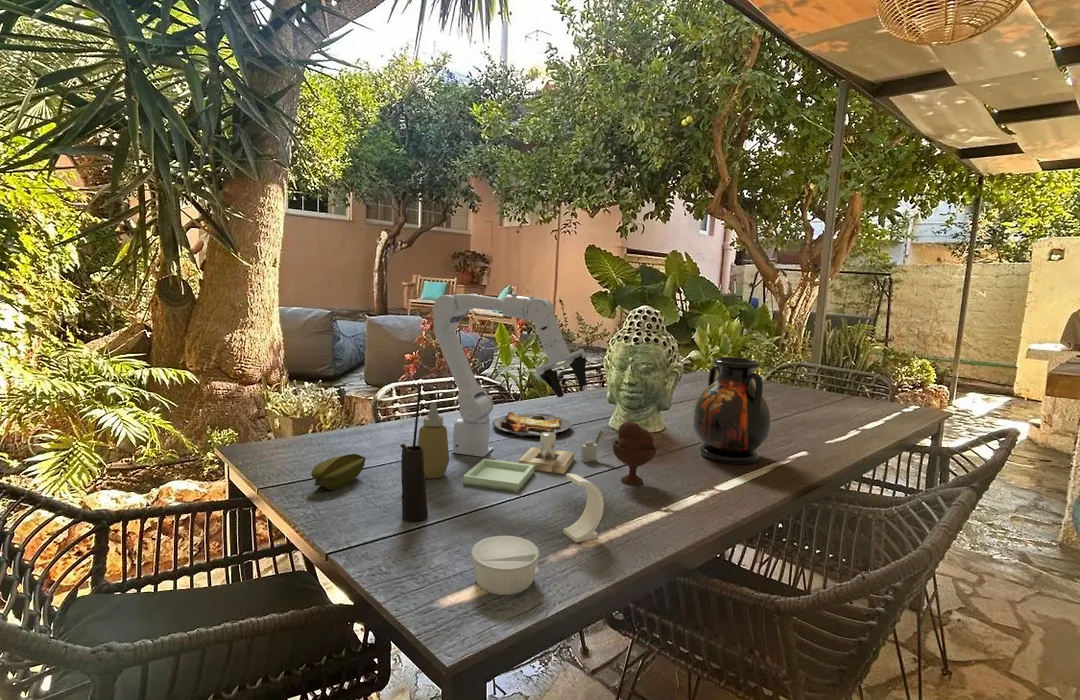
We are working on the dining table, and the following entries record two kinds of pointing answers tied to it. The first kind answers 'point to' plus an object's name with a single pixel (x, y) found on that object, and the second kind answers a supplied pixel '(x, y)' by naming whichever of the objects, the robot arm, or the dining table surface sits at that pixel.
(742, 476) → the dining table surface
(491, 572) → the ramekin
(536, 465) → the socket block
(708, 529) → the dining table surface
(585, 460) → the lighter
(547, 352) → the robot arm
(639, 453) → the ice cream bowl
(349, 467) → the fruit
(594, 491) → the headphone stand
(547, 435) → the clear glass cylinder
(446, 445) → the squeeze bottle
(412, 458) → the butter churn
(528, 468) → the tray
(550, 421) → the food plate
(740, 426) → the amphora vase
